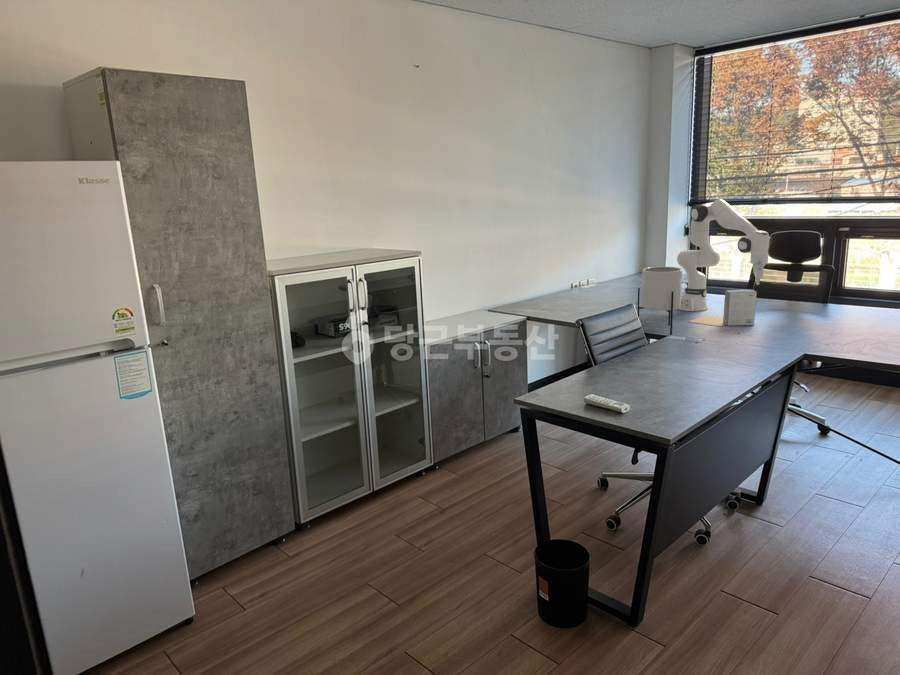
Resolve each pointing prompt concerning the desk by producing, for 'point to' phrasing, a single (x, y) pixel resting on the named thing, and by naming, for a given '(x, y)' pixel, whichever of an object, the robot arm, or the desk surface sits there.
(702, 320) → the cork mat
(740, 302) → the hard drive box
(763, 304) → the desk surface
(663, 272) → the plant pot with stand
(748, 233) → the robot arm
